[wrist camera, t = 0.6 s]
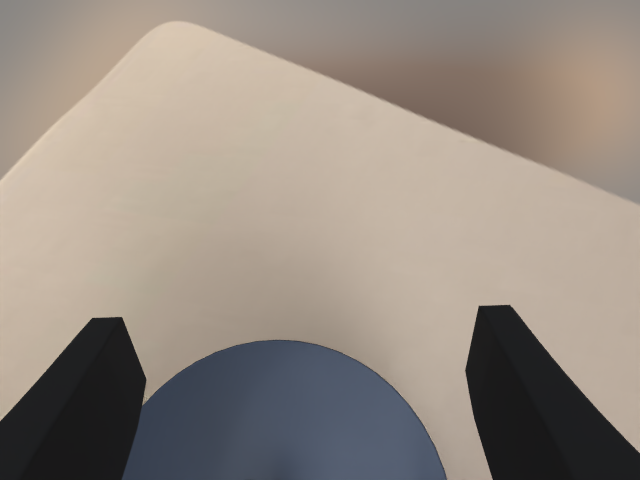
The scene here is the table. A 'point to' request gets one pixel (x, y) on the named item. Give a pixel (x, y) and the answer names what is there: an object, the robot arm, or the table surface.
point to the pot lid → (280, 421)
